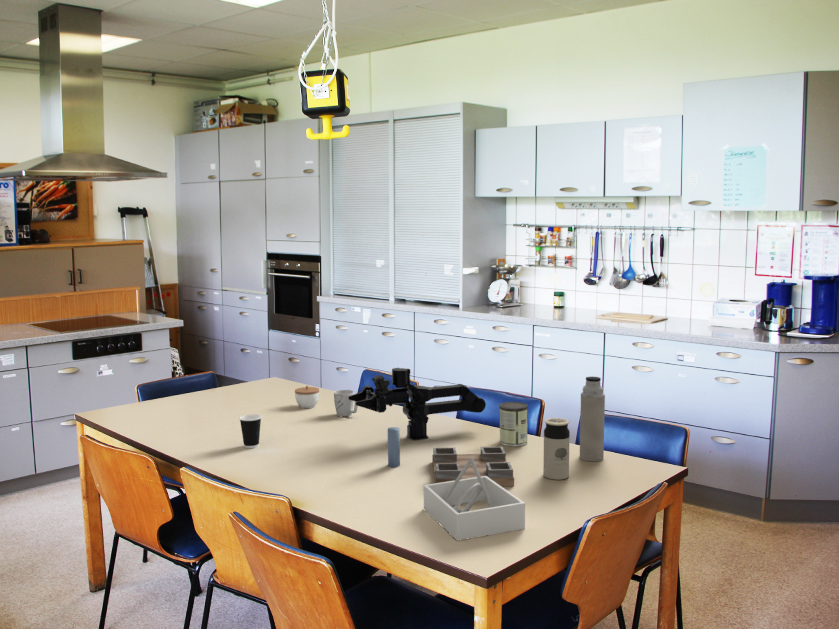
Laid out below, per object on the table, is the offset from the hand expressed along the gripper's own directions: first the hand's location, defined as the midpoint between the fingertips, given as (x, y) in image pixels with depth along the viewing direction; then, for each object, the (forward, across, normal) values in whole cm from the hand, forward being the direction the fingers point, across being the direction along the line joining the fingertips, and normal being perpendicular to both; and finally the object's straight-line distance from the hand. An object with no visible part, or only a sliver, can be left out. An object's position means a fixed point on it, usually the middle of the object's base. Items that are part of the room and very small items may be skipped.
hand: (352, 400), depth 262 cm
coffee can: (-55, +20, +17) cm, 61 cm away
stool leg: (-6, +27, +17) cm, 32 cm away
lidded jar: (+3, -63, +17) cm, 65 cm away
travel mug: (-50, +57, +17) cm, 78 cm away
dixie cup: (+35, -13, +17) cm, 41 cm away
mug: (-9, -41, +17) cm, 45 cm away
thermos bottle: (-71, +46, +17) cm, 86 cm away
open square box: (-11, +77, +16) cm, 80 cm away
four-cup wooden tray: (-27, +44, +16) cm, 54 cm away
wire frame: (-8, +76, +17) cm, 78 cm away
